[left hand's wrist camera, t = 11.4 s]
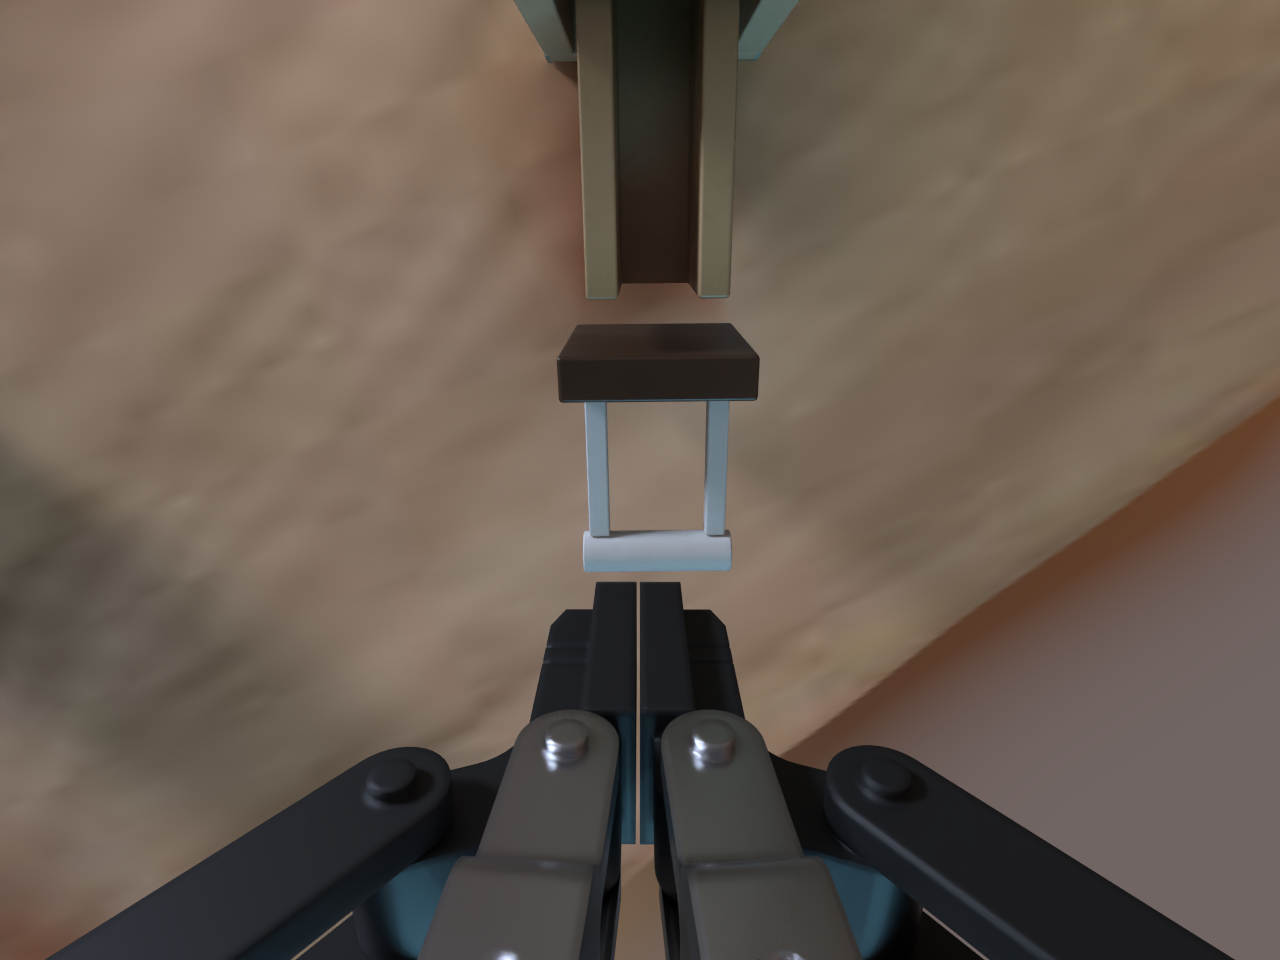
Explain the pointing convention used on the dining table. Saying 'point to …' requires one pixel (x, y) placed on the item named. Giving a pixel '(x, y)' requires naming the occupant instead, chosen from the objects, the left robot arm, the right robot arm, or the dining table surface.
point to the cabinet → (554, 25)
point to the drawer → (657, 248)
